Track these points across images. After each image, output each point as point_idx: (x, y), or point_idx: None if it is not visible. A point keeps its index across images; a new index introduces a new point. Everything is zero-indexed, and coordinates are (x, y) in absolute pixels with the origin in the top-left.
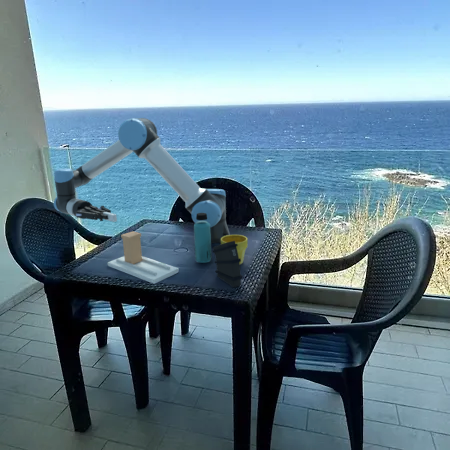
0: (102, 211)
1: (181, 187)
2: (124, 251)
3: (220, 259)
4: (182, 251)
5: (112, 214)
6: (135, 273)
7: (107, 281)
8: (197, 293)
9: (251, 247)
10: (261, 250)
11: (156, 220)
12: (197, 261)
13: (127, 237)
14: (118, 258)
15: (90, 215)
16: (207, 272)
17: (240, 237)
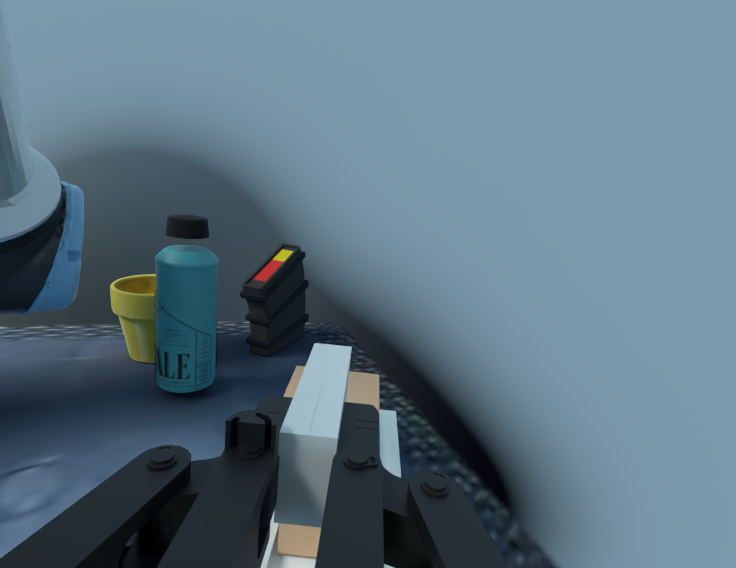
0: (256, 506)
1: (21, 111)
2: None
3: (280, 302)
4: (49, 477)
5: (335, 355)
6: (400, 470)
7: (509, 539)
8: (365, 360)
9: (4, 349)
10: (41, 335)
11: None
12: (210, 384)
13: (378, 384)
14: None
15: None
16: (252, 372)
17: (120, 286)
